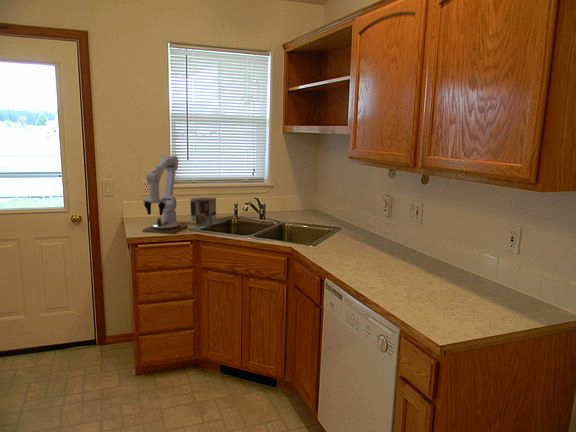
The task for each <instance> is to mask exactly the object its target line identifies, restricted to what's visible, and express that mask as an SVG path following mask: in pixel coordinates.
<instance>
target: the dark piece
mask: <svg viewBox="0 0 576 432" xmlns="http://www.w3.org/2000/svg"><path fill="white" fill-rule="evenodd" d="M216 198H217V197H203V196H201V197H199V196H196V197H193V198H191V199H190V219H191V221H196V206H195V201H197V200H211V207H212V222H213V221H214V220H216V219H217V202H216V201H217V199H216Z"/></svg>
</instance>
